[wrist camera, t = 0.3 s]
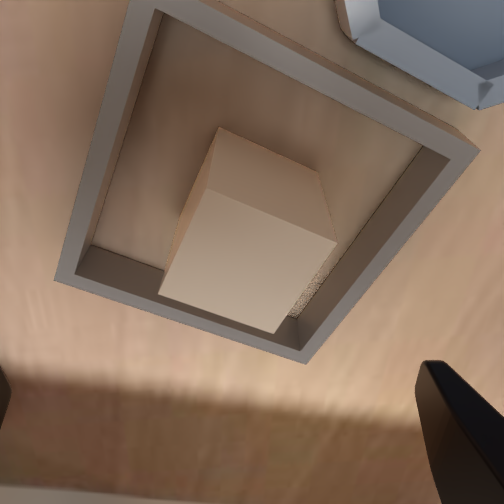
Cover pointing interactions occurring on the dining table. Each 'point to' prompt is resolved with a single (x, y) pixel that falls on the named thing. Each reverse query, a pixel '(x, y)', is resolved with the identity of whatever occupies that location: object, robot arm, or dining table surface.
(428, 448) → the robot arm
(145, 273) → the open square frame
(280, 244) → the stone block
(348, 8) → the ceramic bowl
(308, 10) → the dining table surface
